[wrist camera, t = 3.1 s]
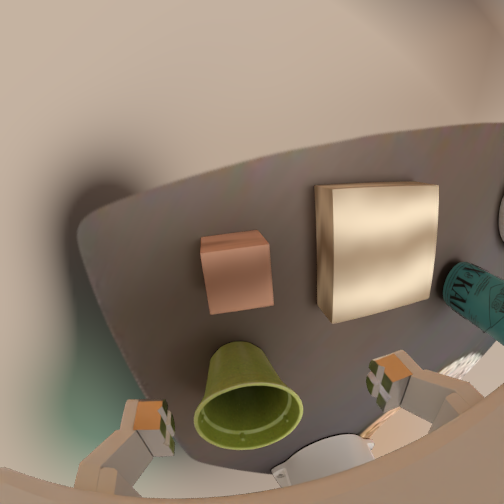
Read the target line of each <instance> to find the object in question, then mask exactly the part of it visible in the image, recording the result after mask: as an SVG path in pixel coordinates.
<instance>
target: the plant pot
mask: <svg viewBox="0 0 504 504" xmlns="http://www.w3.org/2000/svg"><path fill="white" fill-rule="evenodd" d="M302 415H303V404H302V401H301V399H300V398H299V396H298V395H297V394H296V393H295V392H294V391H293V390H292V389H290V388H289V387H287V386H286V385H285V384H284V383H283V382H282V381H281V380H280V378H279V377H278V375H277V373H276V372H275V370H274V369H273V367H272V365H271V364H270V362H269V360H268V359H267V357H266V355H265V354H264V352H263V351H262V350H261V349H260V348H258V347H256V346H255V345H253V344H251V343H249V342H242V341H238V342H231V343H228V344H225V345H223V346H222V347H220V348H219V349H218V350H217V351H216V353H215V354H214V355H213V356H212V357H211V360H210V365H209V371H208V378H207V384H206V389H205V395H204V397H203V399H202V401H201V403H200V404H199V405H198V407H197V409H196V411H195V414H194V426H195V428H196V430H197V432H198V434H199V435H200V436H201V437H202V438H203V439H204V440H206V441H207V442H209V443H211V444H213V445H215V446H218V447H221V448H226V449H233V450H249V449H256V448H261V447H264V446H267V445H270V444H272V443H275V442H277V441H279V440H281V439H283V438H284V437H286V436H287V435H288V434H290V433H291V432H292V431H293V430H294V429H295V428H296V426H297V425H298V423H299V422H300V420H301V418H302Z"/></svg>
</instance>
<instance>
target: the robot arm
mask: <svg viewBox="0 0 504 504" xmlns="http://www.w3.org/2000/svg"><path fill="white" fill-rule="evenodd" d="M369 369H370V370H371V371H370V372H369V374H368V375H367V379H366V383H367V388H368V391H369V393H370V394H371V395H372V396H374V397H376V398H377V400H376V403H377V404H378V406H379V407H380V409H381V410H382V412H383V413H384V412H386V411H389V410H392V409H394V408H397V407H399V406H400V407H401V408H403V409H405V410H407V411H409V412H411V413H413V414H415V415H416V416H418V417H421V418H423V419H425V420H426V421H429V422H431V423H432V426H431V428H430V430H429V432H428V434H427V435H425V436H423V437H422V438H420V439H418V440H416V441H414V442H412V443H410V444H408V445H406V446H404V447H401V448H399V449H397V450H395V451H393V452H391V453H388V454H386V455H384V456H381V457H379V458H377V459H374V456H373V454H372V452H371V450H372V448H373V447H374V441H373V440H371V439H363V438H361V437H360V436H358V435H354V434H344V435H337V436H333V437H329V438H326V439H323V440H320V441H318V442H315V443H313V444H311V445H309V446H307V447H305V448H303V449H302V450H300V451H298V452H297V453H296V454H294V455H293V456H292V457H291V458H289V459H288V460H287V461H286V462H284V463H282V464H280V465H278V466H276V467H274V468H273V469H272V470H271V472H272V474H273V476H274V478H275V479H276V481H277V482H278V483H279V485H280V486H281V488H277V489H272V490H267V491H261V492H255V493H248V494H241V495H233V496H223V497H209V498H185V499H166V498H143V497H142V496H141V495H139V494H138V493H137V491H135V489H133V487H132V486H133V485H134V484H135V483H136V481H137V480H138V478H139V477H140V476H141V474H142V473H143V472H144V470H145V469H146V468H147V466H148V465H149V463H150V462H151V461H152V459H153V457H163V456H174V449H175V442H174V440H173V439H172V437H173V436H174V435H175V423H174V419H173V415H172V413H171V412H170V411H168V404H167V402H166V399H137V400H135V399H133V400H132V399H131V400H129V399H128V400H127V401H126V403H125V408H124V412H123V416H122V421H121V425H120V430H115V431H114V432H113V433H112V434H111V435H110V436H109V437H108V438H107V439H106V440H105V441H103V442H102V443H101V444H100V445H99V446H98V447H97V448H96V449H95V450H94V451H92V452H91V453H90V454H89V455H88V456H87V457H86V458H85V459H84V460H82V461H81V462H80V464H79V468H78V472H77V476H76V480H75V484H74V488H72V487H68V486H64V485H60V484H56V483H52V482H48V481H45V480H41V479H38V478H35V477H32V476H29V475H25V474H23V473H20V472H17V471H14V470H12V469H9V468H6V467H1V468H0V504H504V383H503V384H502V385H501V386H500V387H498V388H497V389H496V390H494V391H493V392H492V393H490V394H489V395H488V396H486V397H485V398H484V397H483V396H482V395H481V394H480V393H479V392H478V391H477V390H476V389H475V388H474V387H473V386H472V385H471V384H470V383H469V382H466V381H463V380H459V379H456V378H452V377H449V376H446V375H442V374H439V373H436V372H433V371H429V370H426V369H425V370H422V369H421V368H420V367H419V366H418V365H417V364H416V362H415V361H414V360H413V359H412V358H411V357H410V356H409V355H408V354H407V353H406V352H405V351H404V350H399V351H396V352H394V353H391V354H388V355H385V356H382V357H379V358H376V359H373V360H371V362H370V364H369Z"/></svg>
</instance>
